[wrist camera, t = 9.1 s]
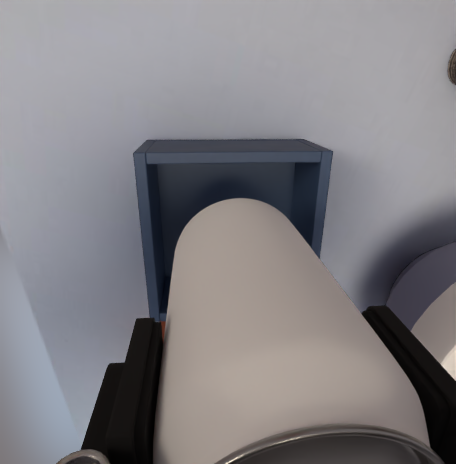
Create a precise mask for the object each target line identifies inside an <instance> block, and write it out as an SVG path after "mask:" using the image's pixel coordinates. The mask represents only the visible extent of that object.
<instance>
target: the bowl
mask: <svg viewBox="0 0 456 464" xmlns="http://www.w3.org/2000/svg"><path fill="white" fill-rule="evenodd" d="M386 306H387V307H389V308H390V309H391V311H392V312H393V313H394V314H395V315H396V316H397V317H398V318H399V319H400V320H401V321H402V323H403V324H404V325H405V326H406V327H407V328H408V329H409V330H410V331H411V332H412V334H413V335H414V336H415V337H416V338H417V339H418V340H419V341H420V342H421V343H422V345H423V346H424V347H425V348H426V349H427V350H428V351H429V352H430V353H431V354H432V355H433V357H434V358H435V359H436V360H437V361H438V362H439V363H440V364H441V365H442V366H443V368H444V369H445V370H446V371H447V372H448V373H449V374H450V375H451V376H452V377H453V378H454V380H455V381H456V241H455V242H452V243H450V244H447V245H445V246H442V247H439V248H436V249H433V250H430V251H429V252H427V253H425V254H423V255H421V256H419V257H418V258H417V259H415V260H414V261H413V262H411V263H410V264H409V265H408V266H407V267H406V268H405V269H404V270H403V271H402V272H401V274H400V275H399V276H398V278H397V279H396V281H395V283H394V285H393V287H392V289H391V292H390V295H389V299H388V301H387V304H386Z"/></svg>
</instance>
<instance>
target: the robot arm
mask: <svg viewBox="0 0 456 464" xmlns="http://www.w3.org/2000/svg"><path fill="white" fill-rule="evenodd" d="M362 316H363V317H364V318H365V319H366V321H367V322H368V323H369V325H370V326H371V327H372V329H373V330H374V331H375V333H376V334H377V335H378V337H379V338H380V339H381V341H382V342H383V343H384V345H385V346H386V348H387V349H388V350H389V352H390V353H391V354H392V356H393V357H394V358H395V360H396V361H397V363H398V364H399V365H400V367H401V368H402V370H403V371H404V372H405V374H406V375H407V377H408V378H409V380H410V382H411V383H412V385H413V387H414V388H415V390H416V392H417V394H418V396H419V399H420V402H421V405H422V408H423V412H424V416H425V421H426V426H427V431H428V437H429V443H430V448H431V449H432V450H433V451H435V452H436V453H437V455H438V456H439V457H440V458H441V459H442V460H443V462H444V463H445V464H456V381H455V380H454V378H453V377H452V376H451V375H450V374H449V373H448V372H447V371H446V370H445V369H444V368H443V366H442V365H441V364H440V363H439V362H438V361H437V360H436V359H435V358H434V357H433V355H432V354H431V353H430V352H429V351H428V350H427V349H426V348H425V347H424V346H423V345H422V343H421V342H420V341H419V340H418V339H417V338H416V337H415V336H414V335H413V334H412V332H411V331H410V330H409V329H408V328H407V327H406V326H405V325H404V324H403V323H402V321H401V320H400V319H399V318H398V317H397V316H396V315H395V314H394V313H393V312H392V311H391V309H390V308H389V307H387V306H370V307H368V308H367V309H366V311H363V313H362ZM162 351H163V336H162V325H161V322H155V318H137V319H136V322H135V325H134V329H133V333H132V337H131V341H130V345H129V348H128V352H127V356H126V360H125V363H110V364H109V365H108V367H107V369H106V372H105V376H104V379H103V382H102V385H101V388H100V391H99V394H98V397H97V400H96V404H95V407H94V410H93V413H92V416H91V419H90V422H89V425H88V429H87V432H86V435H85V438H84V441H83V444H82V447H81V450H80V451H76V452H73V453H71V454H69V455H68V456H66V457H64V458H63V459H61V460H60V461H59V462H58V463H56V464H153V436H154V424H155V413H156V404H157V395H158V386H159V377H160V368H161V360H162Z"/></svg>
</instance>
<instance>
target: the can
mask: <svg viewBox="0 0 456 464" xmlns="http://www.w3.org/2000/svg"><path fill="white" fill-rule="evenodd" d="M153 464H445V463H444V462H443V460H442V459H441V458H440V457H439V456H438V455H437V453H436V452H435V451H433V450H432V449H431V448H430V443H429V437H428V431H427V426H426V421H425V416H424V412H423V408H422V405H421V402H420V399H419V396H418V394H417V392H416V390H415V388H414V387H413V385H412V383H411V382H410V380H409V378H408V377H407V375H406V374H405V372H404V371H403V370H402V368H401V367H400V365H399V364H398V363H397V361H396V360H395V358H394V357H393V356H392V354H391V353H390V352H389V350H388V349H387V348H386V346H385V345H384V343H383V342H382V341H381V339H380V338H379V337H378V335H377V334H376V333H375V331H374V330H373V329H372V327H371V326H370V325H369V323H368V322H367V321H366V319H365V318H364V317H363V316H362V314H361V313H360V312H359V310H358V309H357V308H356V306H355V305H354V304H353V302H352V301H351V300H350V298H349V297H348V296H347V294H346V293H345V292H344V290H343V289H342V288H341V287H340V285H339V284H338V283H337V281H336V280H335V279H334V277H333V276H332V275H331V273H330V272H329V271H328V269H327V268H326V267H325V266H324V264H323V263H322V262H321V260H320V259H319V258H318V256H317V255H316V254H315V252H314V251H313V250H312V249H311V247H310V246H309V245H308V243H307V242H306V241H305V240H304V238H303V237H302V236H301V234H300V233H299V232H298V231H297V229H296V228H295V227H294V225H293V224H292V223H291V222H290V221H289V219H288V218H287V217H286V216H285V215H284V214H283V213H281V212H280V211H279V210H278V209H276V208H275V207H273V206H271V205H269V204H267V203H265V202H262V201H258V200H254V199H247V198H235V199H228V200H223V201H220V202H217V203H214V204H212V205H210V206H208V207H206V208H205V209H203V210H202V211H200V212H199V213H197V214H196V215H195V216H194V217H193V218H192V219H191V220H190V221H189V222H188V224H187V225H186V226H185V228H184V229H183V231H182V233H181V235H180V237H179V240H178V242H177V245H176V249H175V254H174V261H173V268H172V276H171V284H170V292H169V301H168V309H167V317H166V326H165V334H164V343H163V351H162V360H161V368H160V377H159V386H158V395H157V404H156V413H155V424H154V436H153Z"/></svg>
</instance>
